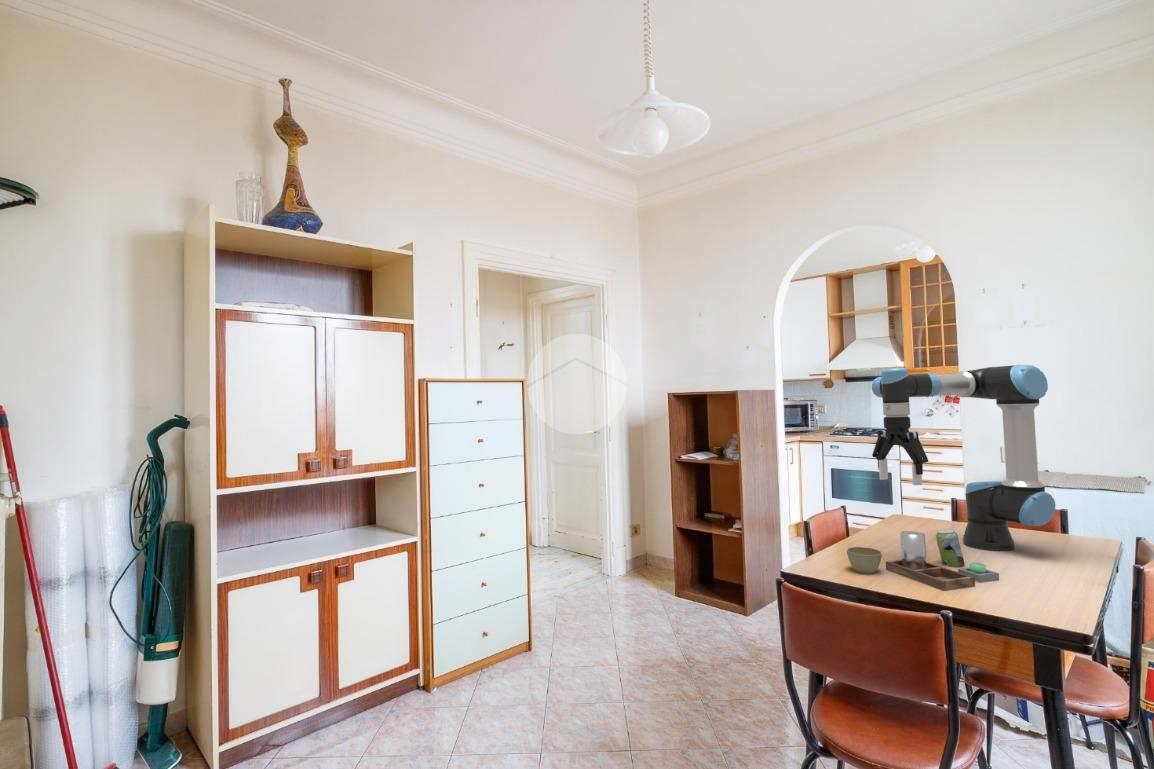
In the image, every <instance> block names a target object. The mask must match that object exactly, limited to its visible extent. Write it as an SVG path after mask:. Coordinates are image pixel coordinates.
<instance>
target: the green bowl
mask: <svg viewBox="0 0 1154 769" xmlns="http://www.w3.org/2000/svg"><path fill="white" fill-rule="evenodd" d="M846 553H847V557H848V558H847V559H848V561H849V564H850V566H851V567H852V569H853V570H854V571H855V572H856V573H857V572H858V573H860V574H874V573H876V572H877V570H878V569H879V567H880V565H881V561H882V557H883V556H882V555H883V552H882V551H881V550H879V549H876V548H874V547H873V548H872V547H866V546H851V547H848V548H846Z"/></svg>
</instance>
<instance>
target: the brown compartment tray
mask: <svg viewBox="0 0 1154 769" xmlns="http://www.w3.org/2000/svg"><path fill="white" fill-rule="evenodd" d="M926 563H927V569H919V570H912V569H909V568H906V567H903V566H902V559H894V560H886V561H885V570H886V571H889V572H890V573H891V572H892V573H894V574H897V575H900V576H903V577H905V578H908V579H910V580H913V581H916V582H917V583H918V582H919V583H922V584H924V585H927V586H929V587H931V588H935V589H938V590H940V591H943V592H946V591H950V590H951V591H952V590H960V589H966V588H973V587H976V581H975V577H972V576H969V575H966V574H963V573H959V572H958V571H956V570H954V569H953V570H952V569H949V568H946V567H944V566H940V565H938V564H935V563H931V562H928V561H926Z"/></svg>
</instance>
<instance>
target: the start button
mask: <svg viewBox="0 0 1154 769" xmlns="http://www.w3.org/2000/svg"><path fill="white" fill-rule="evenodd" d="M969 567H970V571H971V572H974V573H977V574H983V573H986V569H987V565H986V564H984V563H980V562H970V563H969Z"/></svg>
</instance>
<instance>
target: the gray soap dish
mask: <svg viewBox="0 0 1154 769" xmlns="http://www.w3.org/2000/svg"><path fill="white" fill-rule="evenodd" d="M957 572H959V573H963V574H966V575H969V576H972V577H975V583H976V582H977V583H987V582H989V583H990V582H995V581H999V580H1000V573H999V572H997V571H994V570H990V569H987V568H986V573H983V574H977V573H974V572H971V571H970V566H969V567H962V568H961V567H959V568H957Z"/></svg>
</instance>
